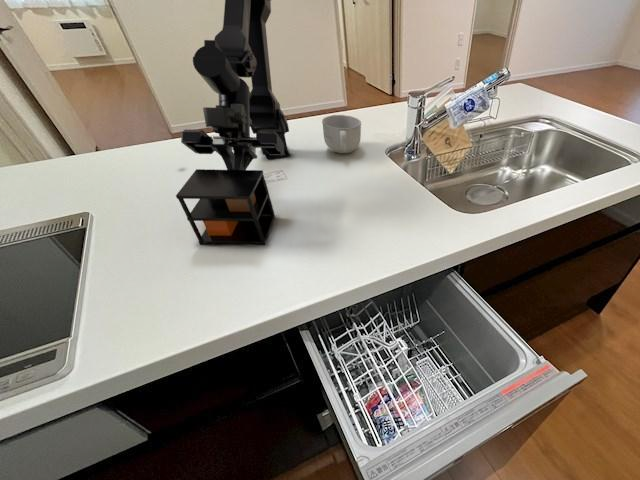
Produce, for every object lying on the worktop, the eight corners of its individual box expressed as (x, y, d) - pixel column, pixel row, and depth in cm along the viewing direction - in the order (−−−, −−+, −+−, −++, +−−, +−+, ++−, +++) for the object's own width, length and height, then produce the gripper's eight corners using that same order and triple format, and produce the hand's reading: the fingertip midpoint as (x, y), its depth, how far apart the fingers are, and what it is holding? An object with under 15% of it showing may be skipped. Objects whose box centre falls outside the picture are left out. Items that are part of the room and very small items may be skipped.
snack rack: (216, 216, 76) (196, 169, 68) (275, 217, 77) (262, 170, 69) (199, 244, 70) (175, 195, 61) (265, 245, 70) (249, 196, 62)
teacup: (328, 140, 105) (325, 112, 100) (364, 142, 106) (362, 114, 100) (320, 161, 96) (316, 131, 90) (359, 163, 96) (357, 133, 90)
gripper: (162, 83, 62) (163, 169, 63) (267, 85, 63) (268, 171, 64) (196, 115, 74) (197, 188, 74) (284, 116, 74) (285, 189, 75)
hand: (235, 184), depth 71 cm, fingers closed, pressing on snack rack
